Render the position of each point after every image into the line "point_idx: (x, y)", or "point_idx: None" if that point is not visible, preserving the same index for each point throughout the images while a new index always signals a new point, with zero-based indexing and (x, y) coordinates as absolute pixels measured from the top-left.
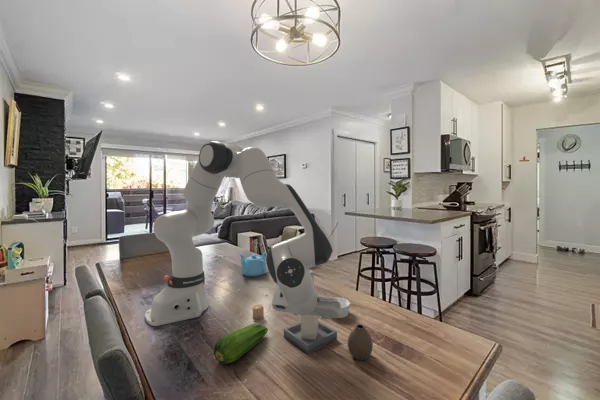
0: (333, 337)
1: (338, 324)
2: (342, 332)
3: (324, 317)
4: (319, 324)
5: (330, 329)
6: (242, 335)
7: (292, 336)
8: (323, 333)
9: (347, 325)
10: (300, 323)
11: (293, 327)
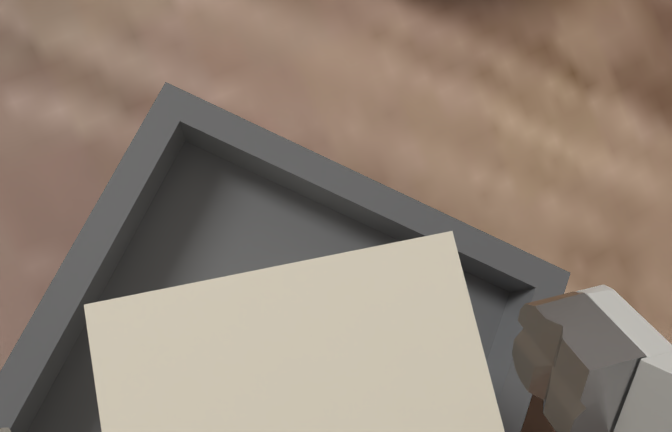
0: None
1: (431, 20)
2: (521, 143)
3: (612, 428)
4: (319, 191)
5: (491, 261)
6: None
7: None
8: None
9: (512, 8)
10: (82, 294)
11: (22, 417)
